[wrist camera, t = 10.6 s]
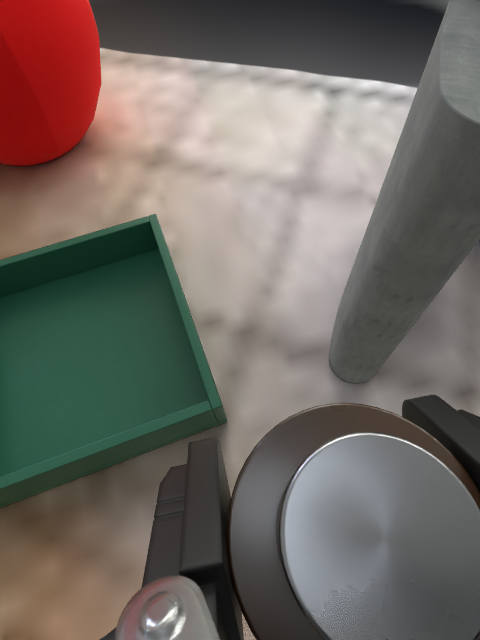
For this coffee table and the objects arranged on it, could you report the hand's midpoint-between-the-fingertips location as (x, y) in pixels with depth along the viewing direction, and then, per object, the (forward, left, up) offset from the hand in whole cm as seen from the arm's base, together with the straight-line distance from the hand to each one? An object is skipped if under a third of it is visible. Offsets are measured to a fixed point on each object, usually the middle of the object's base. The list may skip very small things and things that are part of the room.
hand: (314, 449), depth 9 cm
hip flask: (-12, -10, -13) cm, 20 cm away
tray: (+9, -12, -13) cm, 20 cm away
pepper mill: (0, +2, -9) cm, 9 cm away
